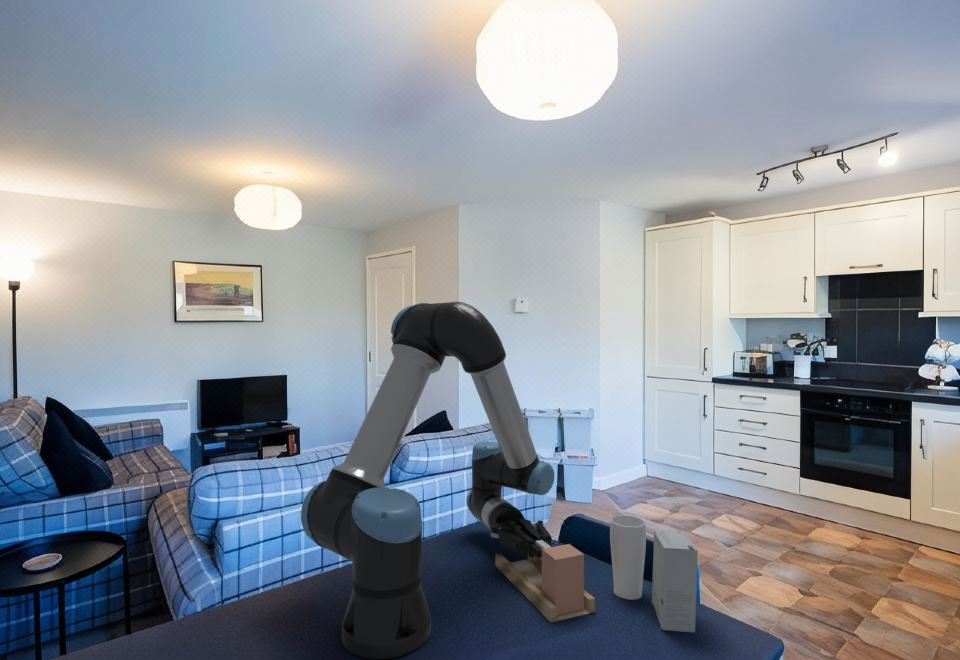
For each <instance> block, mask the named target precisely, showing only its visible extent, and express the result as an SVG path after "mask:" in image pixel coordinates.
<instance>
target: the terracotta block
mask: <svg viewBox="0 0 960 660" xmlns="http://www.w3.org/2000/svg"><path fill="white" fill-rule="evenodd" d="M584 590H585V554H584V553H583V552H582V551H580V550H579V549H577V548H576V547H574V546H573V545H571V543H567V544H563V545H556V546H552V547H550V548H544V549H542V594H544V595H545V596H546V597H547V598H548V599H549V600H550V601H551V602H552V603H553V604H554V605H555V606H556V607H557V615H562V614H566V613H570V612H574V611H579V610H583V609H584Z"/></svg>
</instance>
